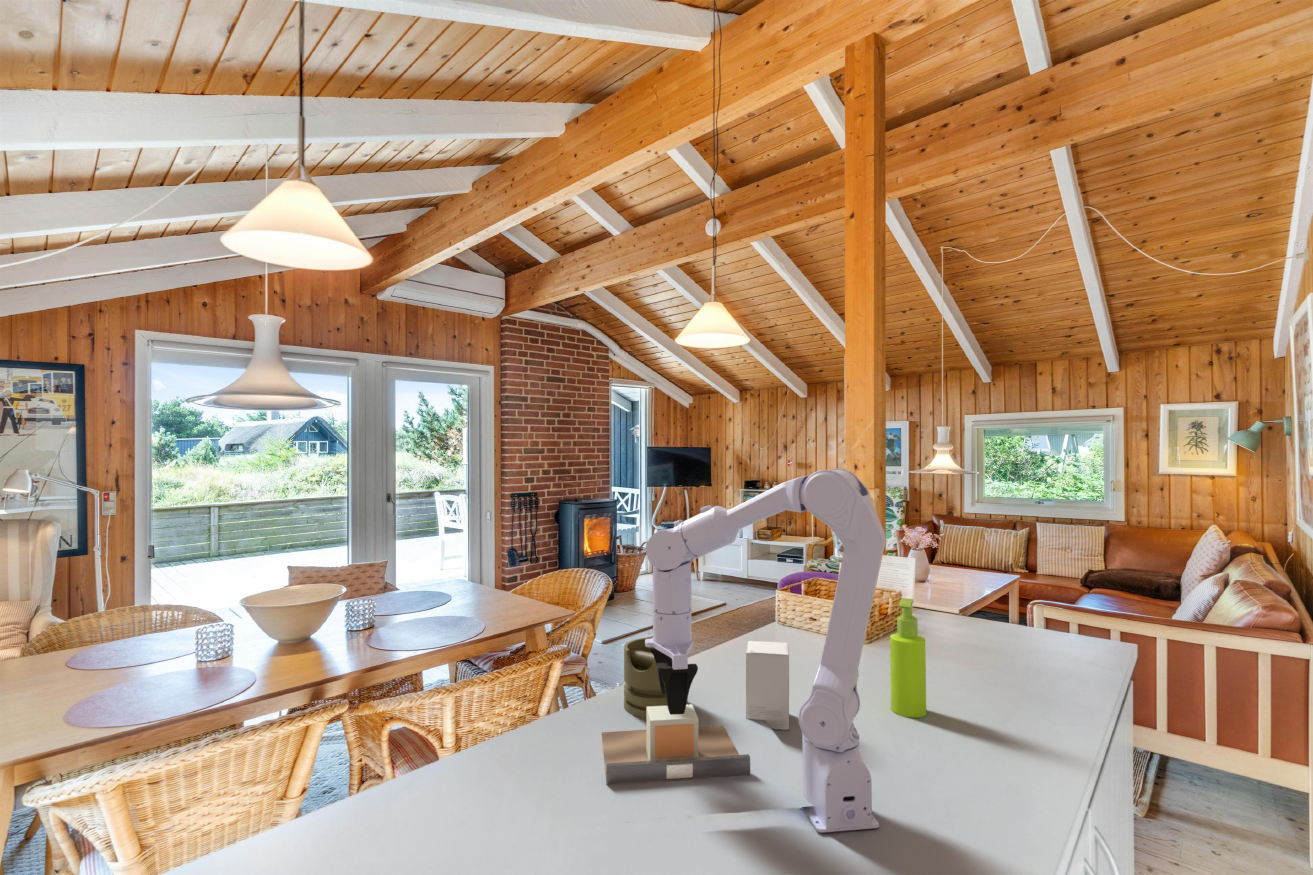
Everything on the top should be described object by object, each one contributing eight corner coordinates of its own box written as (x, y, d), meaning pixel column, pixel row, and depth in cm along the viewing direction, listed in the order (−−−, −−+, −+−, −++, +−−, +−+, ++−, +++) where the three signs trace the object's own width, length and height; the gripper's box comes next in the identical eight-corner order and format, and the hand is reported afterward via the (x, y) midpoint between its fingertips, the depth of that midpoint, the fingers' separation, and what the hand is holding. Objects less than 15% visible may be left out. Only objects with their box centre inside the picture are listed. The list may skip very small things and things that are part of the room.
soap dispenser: (888, 715, 110) (886, 601, 110) (893, 702, 116) (891, 594, 116) (924, 722, 107) (922, 605, 107) (927, 708, 113) (926, 597, 113)
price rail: (750, 775, 86) (750, 757, 86) (606, 785, 84) (606, 766, 84) (748, 771, 87) (748, 754, 87) (606, 781, 85) (606, 763, 85)
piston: (646, 633, 118) (698, 643, 112) (646, 697, 118) (698, 710, 112) (611, 649, 109) (666, 660, 103) (611, 718, 109) (666, 733, 103)
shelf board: (750, 785, 86) (750, 774, 86) (606, 795, 84) (606, 784, 84) (723, 734, 102) (723, 725, 102) (601, 741, 100) (601, 732, 100)
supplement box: (789, 731, 103) (789, 654, 104) (744, 727, 105) (744, 651, 105) (789, 713, 111) (788, 641, 111) (747, 709, 112) (747, 639, 113)
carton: (646, 750, 94) (646, 706, 94) (692, 747, 94) (692, 704, 95) (650, 767, 88) (650, 721, 89) (698, 764, 89) (698, 718, 89)
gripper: (640, 599, 99) (640, 685, 98) (651, 623, 84) (651, 725, 84) (684, 598, 100) (684, 683, 99) (702, 621, 85) (702, 722, 85)
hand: (672, 702), depth 92 cm, fingers open, 7 cm apart
